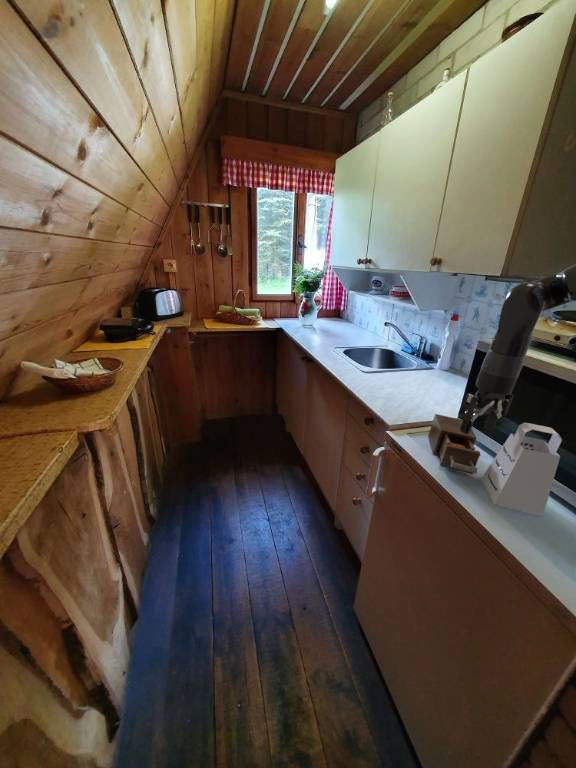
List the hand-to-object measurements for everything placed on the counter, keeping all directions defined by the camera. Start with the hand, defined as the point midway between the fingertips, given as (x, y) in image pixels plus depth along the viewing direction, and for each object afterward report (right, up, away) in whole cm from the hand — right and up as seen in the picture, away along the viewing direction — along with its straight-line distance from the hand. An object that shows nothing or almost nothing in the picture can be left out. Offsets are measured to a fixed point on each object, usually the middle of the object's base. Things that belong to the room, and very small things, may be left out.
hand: (476, 431), depth 78 cm
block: (0, -10, +11) cm, 15 cm away
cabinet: (+3, -9, +20) cm, 22 cm away
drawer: (0, -11, +10) cm, 15 cm away
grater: (+9, -17, +1) cm, 19 cm away
